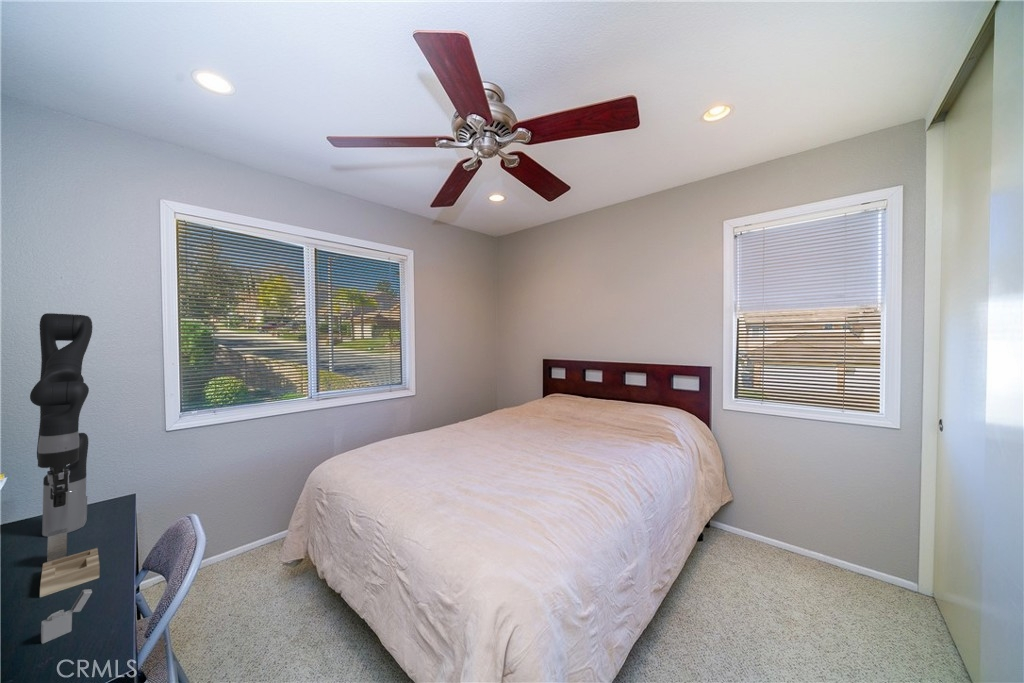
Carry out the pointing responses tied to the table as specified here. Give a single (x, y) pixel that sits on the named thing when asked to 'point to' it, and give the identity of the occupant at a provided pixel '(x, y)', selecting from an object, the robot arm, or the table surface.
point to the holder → (69, 571)
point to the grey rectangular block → (57, 544)
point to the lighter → (62, 619)
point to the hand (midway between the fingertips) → (57, 502)
